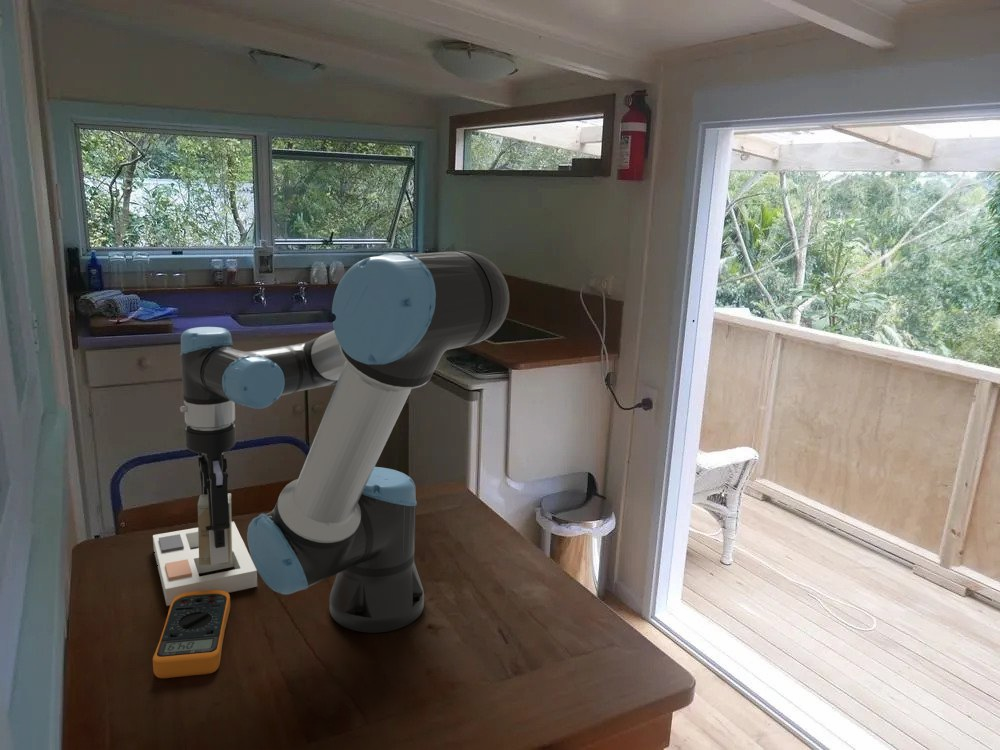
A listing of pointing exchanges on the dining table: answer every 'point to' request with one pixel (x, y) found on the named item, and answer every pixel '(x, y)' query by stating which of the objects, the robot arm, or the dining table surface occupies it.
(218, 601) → the multimeter
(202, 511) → the box
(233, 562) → the socket board
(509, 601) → the dining table surface
